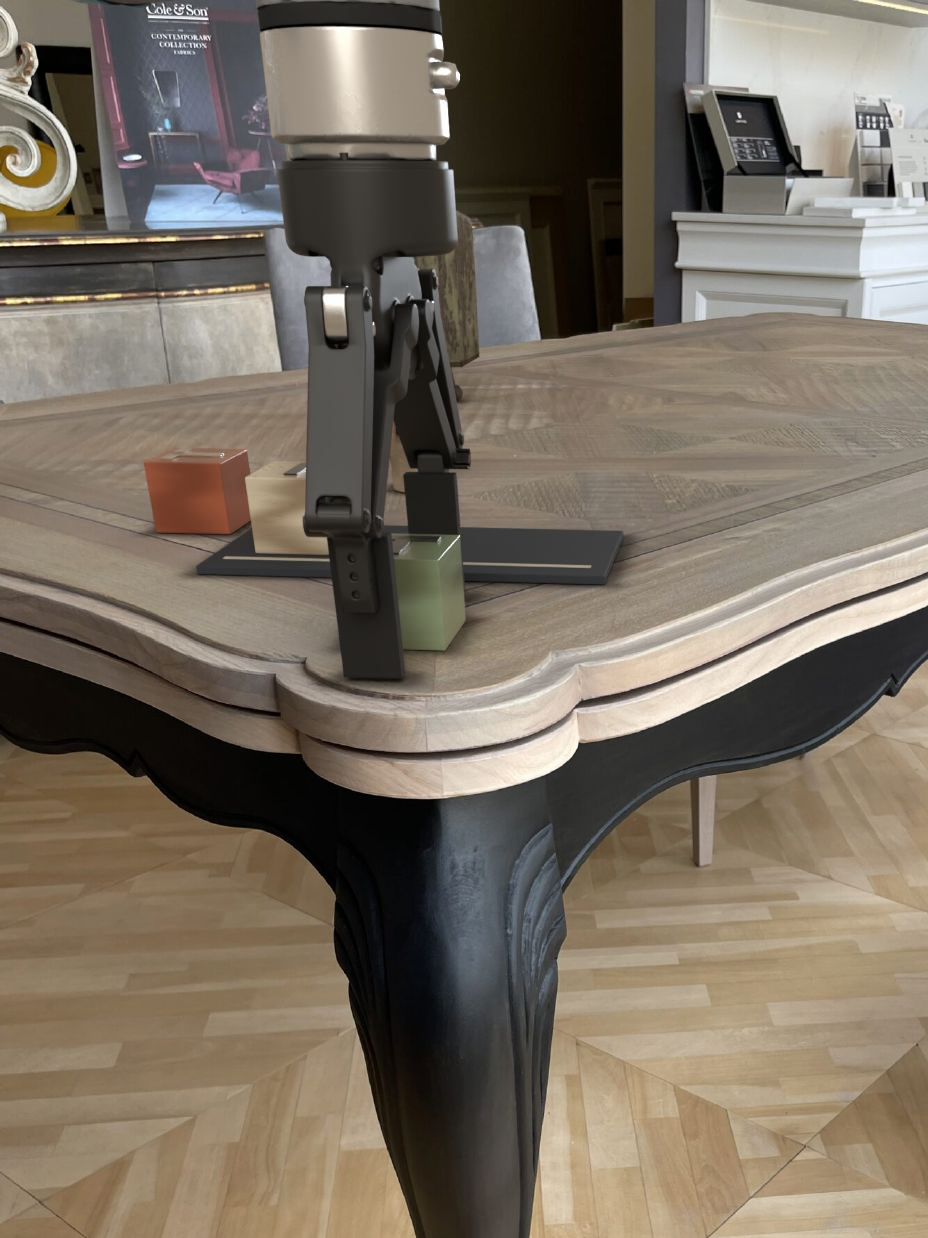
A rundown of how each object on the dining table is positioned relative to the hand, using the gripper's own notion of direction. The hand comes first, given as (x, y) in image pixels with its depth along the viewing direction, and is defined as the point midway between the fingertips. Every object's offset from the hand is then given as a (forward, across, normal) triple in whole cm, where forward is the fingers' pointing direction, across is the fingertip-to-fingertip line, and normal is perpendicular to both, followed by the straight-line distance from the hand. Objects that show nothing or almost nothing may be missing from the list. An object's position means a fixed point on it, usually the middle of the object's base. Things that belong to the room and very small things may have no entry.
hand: (410, 632), depth 67 cm
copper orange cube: (0, +22, +19) cm, 29 cm away
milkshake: (0, +35, +8) cm, 36 cm away
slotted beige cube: (0, +16, +10) cm, 19 cm away
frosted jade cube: (0, 0, 0) cm, 0 cm away
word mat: (0, +16, +3) cm, 16 cm away
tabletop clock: (0, +77, +16) cm, 79 cm away
